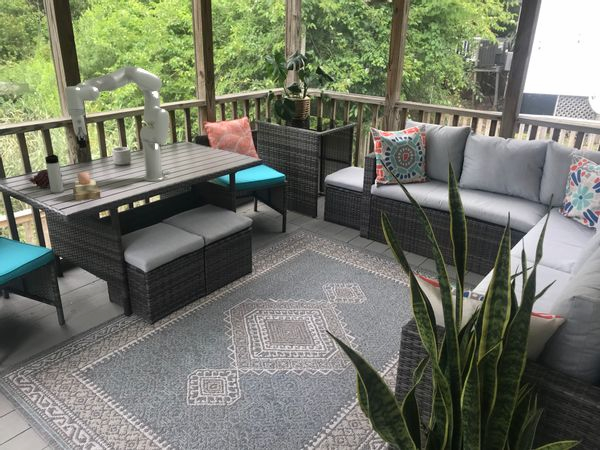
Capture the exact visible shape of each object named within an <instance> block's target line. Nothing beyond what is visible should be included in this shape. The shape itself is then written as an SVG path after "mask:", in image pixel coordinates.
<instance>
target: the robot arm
mask: <svg viewBox="0 0 600 450" xmlns="http://www.w3.org/2000/svg"><path fill="white" fill-rule="evenodd" d="M128 84H129V85H130V84H136V86H137V87H138V89H140V90H141V92H142V94H143V97H144V105H143V106H144V107H143V108H144V109H143V120H144V121H145V122H146V123H148V124H152V125H148V124H147V125H144V126H143V127H141V128H140V132H139V136H140V140H141V145H142V149H143V160H144V161H143V162H144V170H145V175H144V176H143V180H144V181H147V182H159V181H163V180H166V175H171V171H167V170H163V168H162V167H163V165H162V155H161V154H162V153H161V152H162V151H161V147H160V145H164V144H166V143H167V141H168V139H169V132H170V115H169V113H168V111H167V110H166V109H164V108H162V107H161V96H160V93H159V91H160V90H161V89H162V86H163V83H162V79H161V78H160V76H158V75H156V74H154V73H152V72H149V71H148V70H146V69H144V68H142V67H140V66H133V65H126V66H123V67H120V68H118V69H117V70H113V71H111V72H109V73H107V74H103V75H100V76H96V77H93V78H92V77H91V78H88V79H87V80H84V81H82V82H79V83H78V84H76V85H74V86H66V87H64V93H65V99H66V105H67V106H66V107H67V112H68V113H67V114H68V116H69V117H71V121H72V126H73V127H72V128H73V131H74V134H75V135H76V136H75V138H76V144H77V145H78V146H79V149H84V148H85V149H86V148H87V141H86V137H85V136H87V134H88V133H87V129H86V123H85V118H84V116H85V115H86V113H85V112H86V111H85V104H84V102H85V101H88V102H93V101H96V100H98V99H99V98H100V92H110V91H111V92H112V91H116V90H118V89H120V88H122V87H124V86H126V85H128Z"/></svg>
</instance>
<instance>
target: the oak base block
mask: <svg viewBox="0 0 600 450" xmlns="http://www.w3.org/2000/svg"><path fill="white" fill-rule="evenodd" d="M72 191H73V196H74V200H75V202H81V201H82V200H83V201H90V200H89V199H91V200H98V199H97V198H99V199H102V198H101V192H100V189H99V188H98V186H97V192H90V193H81V194H77V193H76V187H74V188H72Z"/></svg>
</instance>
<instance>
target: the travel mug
mask: <svg viewBox="0 0 600 450" xmlns="http://www.w3.org/2000/svg"><path fill="white" fill-rule="evenodd" d="M44 159H45V165H46V170H47V172H48V177H49V183H50V185H49V187H50V188H49V189H50V192H51V194H54V195H57V194H58V195H59V194H63V193H64V192H65V190H64V185H63V176H62V177H61V174H62V172H61V165H60V159H59V156H58V155H56V154H51V155H47V156H46V157H45V158H44Z"/></svg>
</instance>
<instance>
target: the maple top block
mask: <svg viewBox="0 0 600 450" xmlns="http://www.w3.org/2000/svg"><path fill="white" fill-rule="evenodd" d="M74 185H75V186H74V188H76V193H77V194H81V193H90V192H97V187H98V186H97V182H96V179H90V183H88V184H79V181H78V180H75V181H74Z"/></svg>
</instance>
